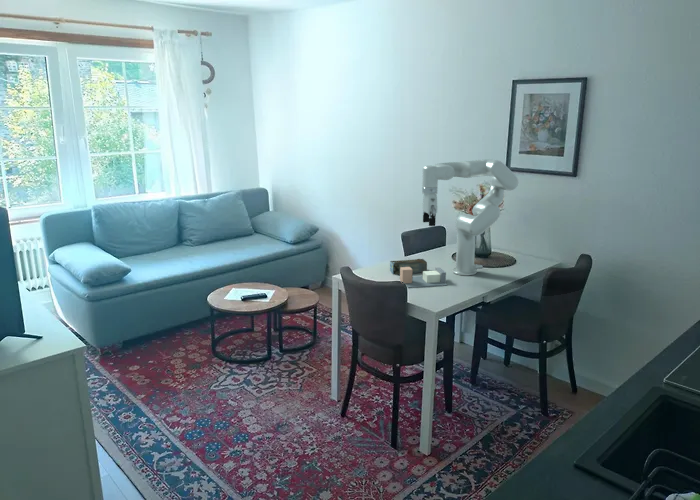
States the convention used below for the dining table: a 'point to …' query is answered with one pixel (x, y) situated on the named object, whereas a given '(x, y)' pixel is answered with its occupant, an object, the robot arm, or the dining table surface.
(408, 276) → the tan rectangular block
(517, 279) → the dining table surface
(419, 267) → the beverage carton
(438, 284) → the mat
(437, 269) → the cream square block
